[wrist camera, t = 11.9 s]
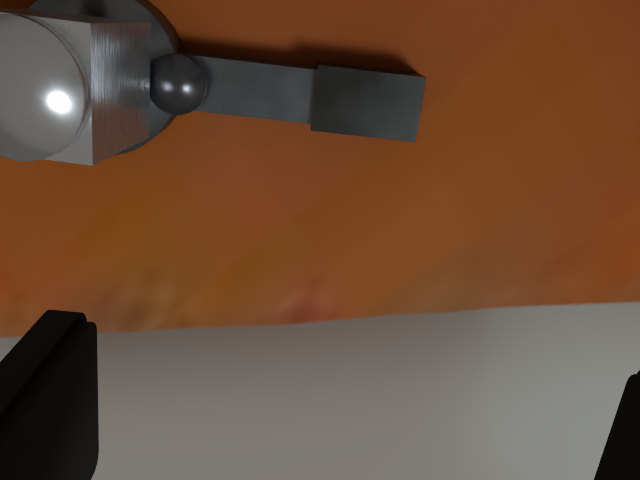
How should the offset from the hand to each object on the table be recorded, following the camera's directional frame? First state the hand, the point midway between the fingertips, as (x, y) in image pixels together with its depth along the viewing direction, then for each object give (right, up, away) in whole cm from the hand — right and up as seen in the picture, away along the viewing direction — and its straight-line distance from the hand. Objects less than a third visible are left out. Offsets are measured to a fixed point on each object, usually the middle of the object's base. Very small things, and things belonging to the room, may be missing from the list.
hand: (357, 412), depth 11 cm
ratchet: (-6, +12, +26) cm, 29 cm away
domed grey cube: (-13, +12, +22) cm, 28 cm away
